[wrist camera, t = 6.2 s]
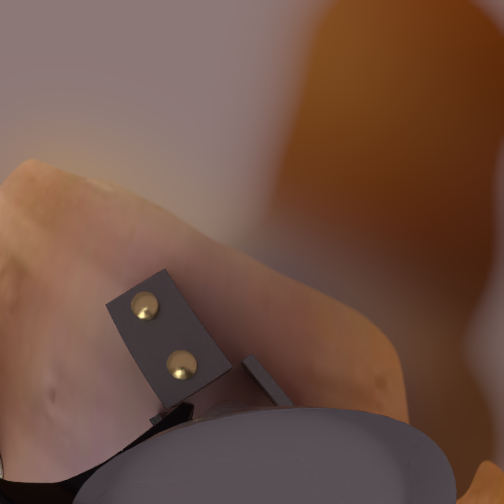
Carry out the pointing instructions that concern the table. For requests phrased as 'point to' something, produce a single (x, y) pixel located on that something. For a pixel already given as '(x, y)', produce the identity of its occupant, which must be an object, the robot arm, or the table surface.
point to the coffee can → (1, 469)
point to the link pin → (278, 461)
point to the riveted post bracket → (176, 344)
